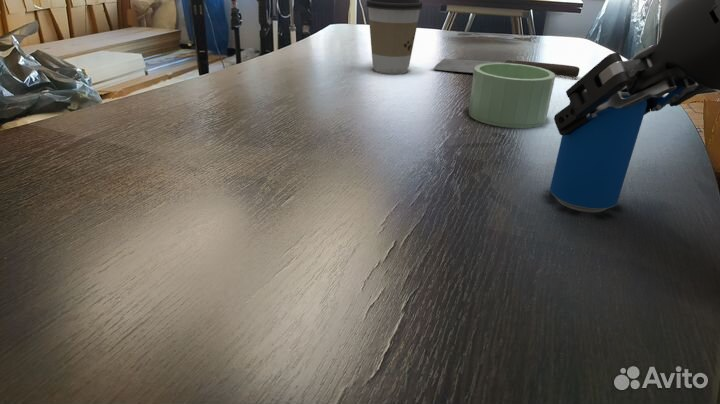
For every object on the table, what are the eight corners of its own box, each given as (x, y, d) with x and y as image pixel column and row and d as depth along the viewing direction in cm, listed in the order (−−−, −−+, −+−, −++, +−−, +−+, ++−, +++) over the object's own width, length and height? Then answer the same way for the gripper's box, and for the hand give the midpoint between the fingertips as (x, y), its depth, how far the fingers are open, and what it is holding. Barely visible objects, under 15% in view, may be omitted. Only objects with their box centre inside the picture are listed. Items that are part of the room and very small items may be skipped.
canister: (499, 102, 85) (506, 60, 81) (560, 119, 77) (570, 74, 73) (452, 112, 78) (458, 67, 75) (514, 133, 70) (523, 83, 67)
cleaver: (576, 73, 106) (578, 63, 105) (581, 84, 98) (584, 73, 97) (438, 63, 113) (439, 54, 112) (432, 72, 105) (433, 62, 104)
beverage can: (618, 221, 48) (656, 97, 42) (547, 208, 49) (575, 88, 44) (612, 194, 53) (646, 81, 48) (549, 183, 55) (574, 73, 49)
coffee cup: (410, 78, 98) (417, -4, 91) (356, 73, 101) (358, -7, 94) (423, 67, 107) (429, -8, 101) (372, 62, 111) (375, -11, 104)
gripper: (796, -34, 38) (624, 85, 53) (664, -39, 32) (515, 95, 47) (846, 51, 36) (653, 149, 51) (715, 60, 31) (543, 167, 45)
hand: (587, 122), depth 49 cm, fingers closed on beverage can, 6 cm apart
